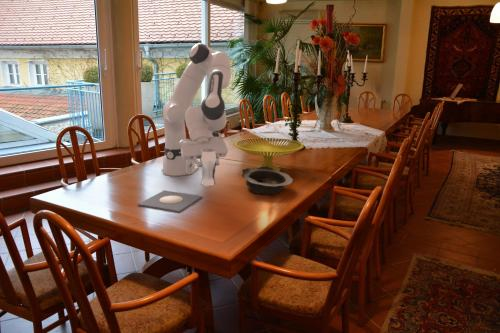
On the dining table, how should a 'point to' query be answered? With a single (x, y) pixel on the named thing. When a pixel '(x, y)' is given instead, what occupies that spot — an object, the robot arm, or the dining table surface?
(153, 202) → the place mat
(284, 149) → the cake stand
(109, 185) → the dining table surface
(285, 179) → the stone bowl
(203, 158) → the beer glass
